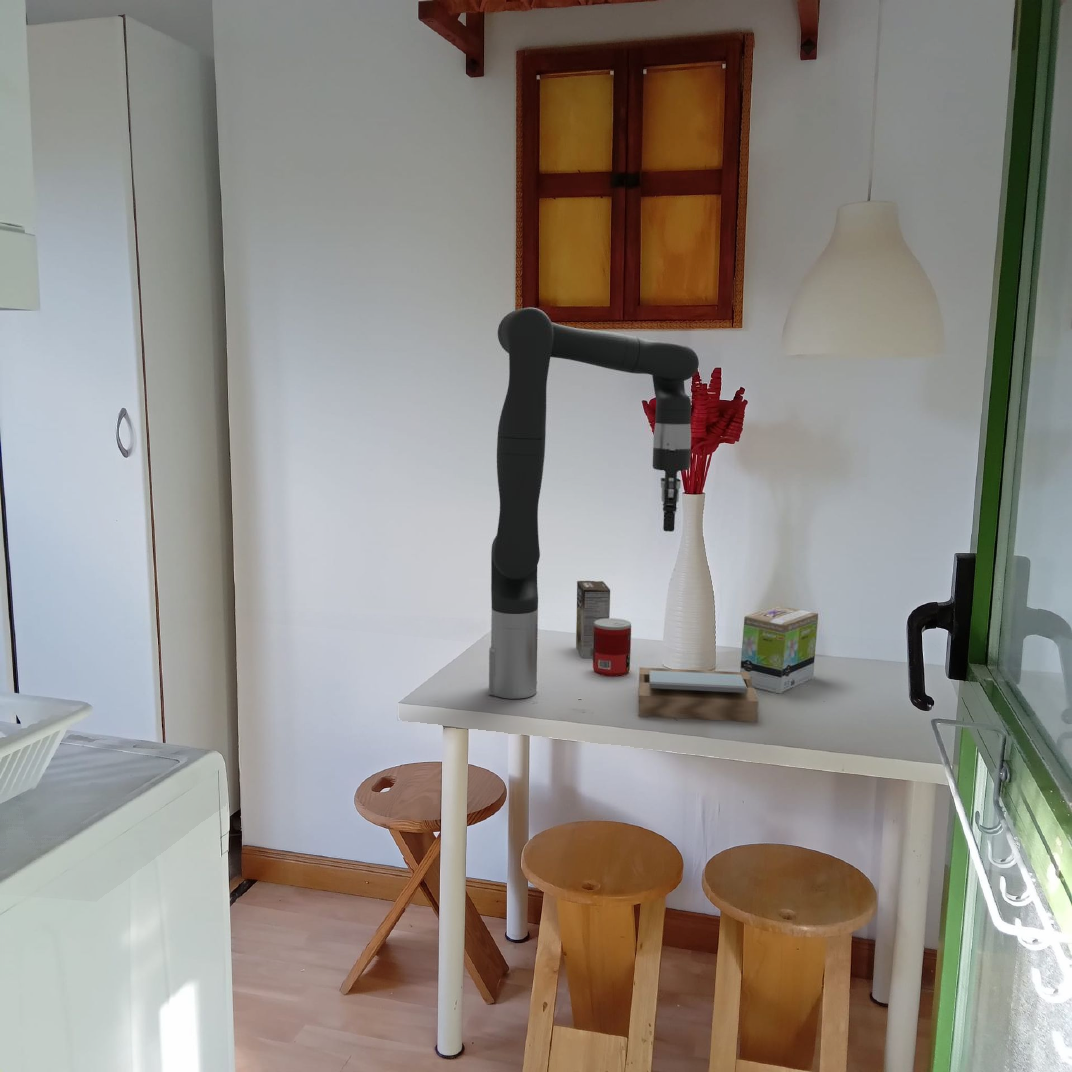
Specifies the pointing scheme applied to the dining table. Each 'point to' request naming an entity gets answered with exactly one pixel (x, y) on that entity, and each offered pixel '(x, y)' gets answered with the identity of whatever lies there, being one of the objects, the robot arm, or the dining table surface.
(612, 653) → the canned food
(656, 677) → the cover
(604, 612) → the coffee box
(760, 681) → the tea box
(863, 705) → the dining table surface
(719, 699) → the wooden tray
